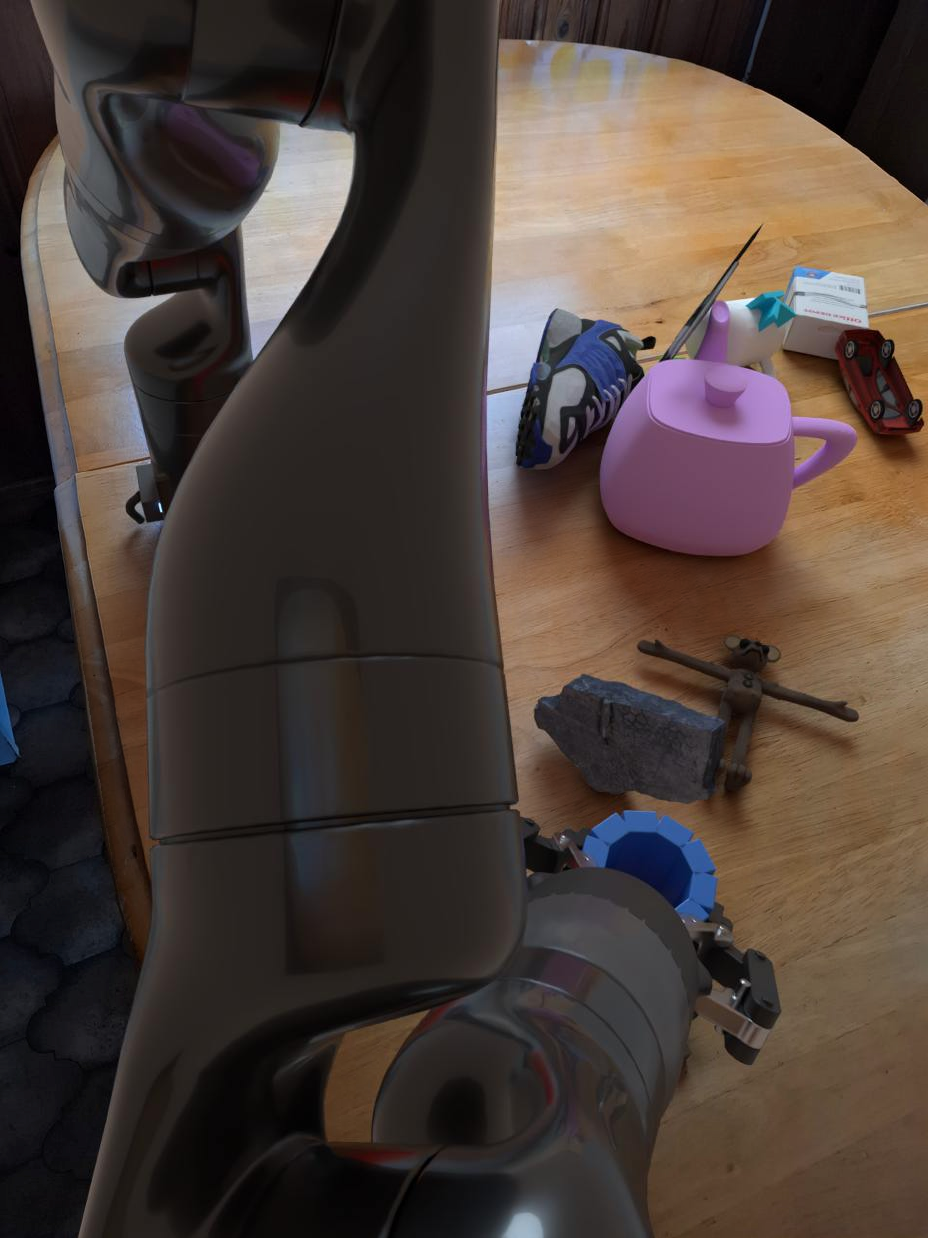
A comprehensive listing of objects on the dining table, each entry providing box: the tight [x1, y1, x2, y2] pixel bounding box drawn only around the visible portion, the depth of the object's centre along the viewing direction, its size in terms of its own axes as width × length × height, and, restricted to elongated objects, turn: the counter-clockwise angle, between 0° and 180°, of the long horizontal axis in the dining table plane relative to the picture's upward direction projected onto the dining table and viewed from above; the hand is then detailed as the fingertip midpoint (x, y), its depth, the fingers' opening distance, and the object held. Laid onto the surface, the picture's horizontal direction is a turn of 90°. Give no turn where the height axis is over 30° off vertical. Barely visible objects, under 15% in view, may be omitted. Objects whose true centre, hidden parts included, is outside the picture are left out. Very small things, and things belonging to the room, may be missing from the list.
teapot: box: [599, 299, 858, 557], centre depth 84 cm, size 23×21×15 cm
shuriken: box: [657, 222, 765, 363], centre depth 89 cm, size 24×1×21 cm, turn 154°
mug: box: [684, 289, 796, 380], centre depth 99 cm, size 12×9×12 cm
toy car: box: [834, 328, 925, 436], centre depth 100 cm, size 6×15×5 cm, turn 10°
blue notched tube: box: [581, 810, 719, 922], centre depth 46 cm, size 6×7×8 cm
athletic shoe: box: [514, 308, 657, 470], centre depth 92 cm, size 10×26×12 cm
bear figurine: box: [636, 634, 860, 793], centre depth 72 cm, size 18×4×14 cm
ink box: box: [782, 265, 871, 361], centre depth 109 cm, size 8×5×12 cm
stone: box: [533, 672, 727, 805], centre depth 65 cm, size 14×6×10 cm, turn 69°
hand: (642, 882), depth 47 cm, fingers closed on blue notched tube, 6 cm apart
